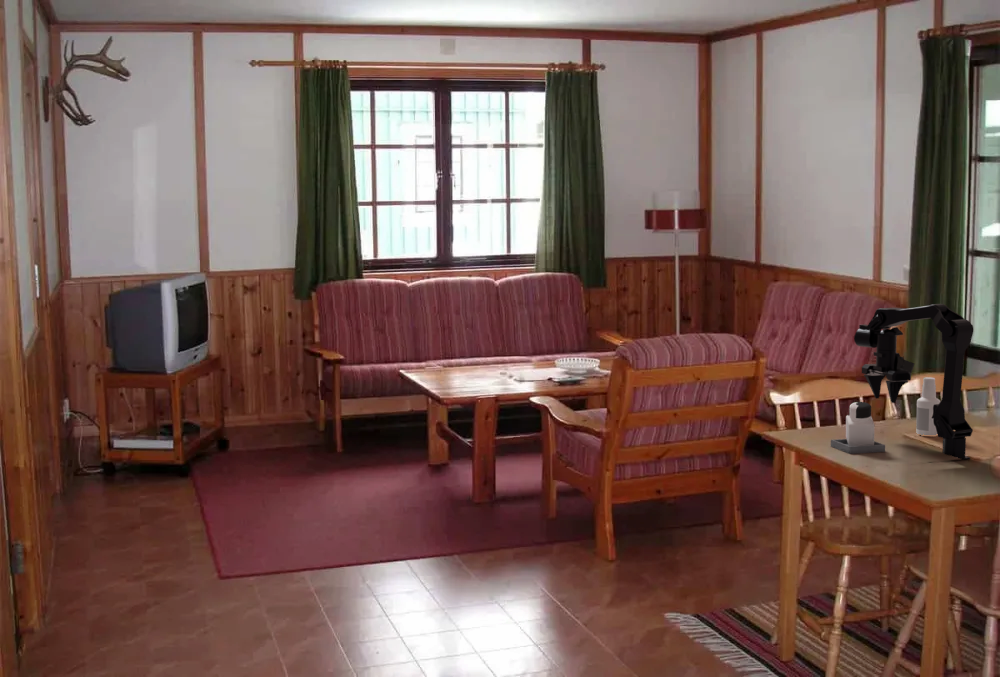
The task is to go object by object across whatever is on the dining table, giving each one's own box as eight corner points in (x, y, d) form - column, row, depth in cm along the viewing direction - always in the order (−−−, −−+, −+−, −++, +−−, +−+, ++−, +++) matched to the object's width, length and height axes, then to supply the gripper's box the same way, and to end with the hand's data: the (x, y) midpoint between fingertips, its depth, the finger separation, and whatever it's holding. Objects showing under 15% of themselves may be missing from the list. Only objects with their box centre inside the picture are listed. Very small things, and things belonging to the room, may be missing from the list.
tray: (885, 451, 344) (885, 444, 344) (849, 453, 341) (849, 446, 341) (865, 444, 355) (865, 437, 354) (830, 446, 352) (830, 439, 352)
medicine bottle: (870, 436, 352) (871, 399, 348) (874, 446, 346) (875, 408, 342) (845, 437, 353) (846, 399, 350) (848, 447, 347) (849, 409, 343)
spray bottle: (919, 433, 372) (921, 375, 370) (942, 435, 368) (943, 377, 366) (913, 436, 366) (914, 378, 365) (936, 438, 363) (937, 380, 361)
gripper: (927, 351, 352) (926, 404, 353) (894, 345, 370) (892, 394, 371) (893, 353, 349) (892, 405, 351) (861, 346, 367) (860, 396, 369)
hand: (885, 400), depth 361 cm, fingers open, 9 cm apart
